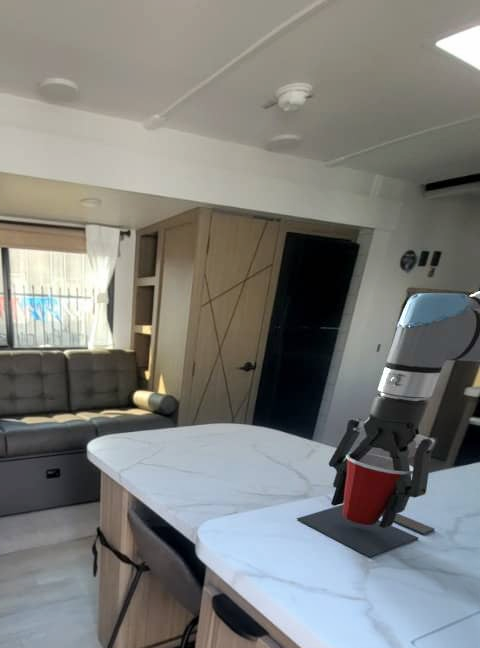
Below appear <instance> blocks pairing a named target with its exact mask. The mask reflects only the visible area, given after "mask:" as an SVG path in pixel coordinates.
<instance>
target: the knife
mask: <svg viewBox="0 0 480 648" xmlns="http://www.w3.org/2000/svg"><path fill="white" fill-rule="evenodd" d="M384 512H385V510H384ZM384 512H383V514H382V515H381V516H383V515H384ZM393 524H397V525H399V526H401V527H404V528H406V529H409V530H410V531H413V532H415V533H417V534H419V535H422V536H423V535H426V534H428V533H430V532H433V531H435V528H434V527H433V526H429V525H426V524H424V523H422V522H419V521H417V520H415V519H412V518H409V517H408V516H406V515H403V514H401V513H397V514H396V516H395V519H394V521H393Z"/></svg>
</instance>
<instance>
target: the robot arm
mask: <svg viewBox="0 0 480 648" xmlns="http://www.w3.org/2000/svg"><path fill="white" fill-rule="evenodd" d="M396 326H397V328H396V331H395V333H394V337H393V340H392V342H391V347H390V350H389V353H388V356H387V359H386V363H385V365H384V368H383V372H382V375H381V377H380V379H379V383H378V387H377V391H378V392H379V393H377V394H376V395H374V398H373V400H372V404H371V407H370V410H369V416H368V418H367V419H366V420H363V419H361V418H354V419H349V420H348V421H347V426H346V432H344V435H343V436H342V439H341V440H340V442H339V444H338V446H337V447H336V448H335V451H334V452H333V454H332V456H331V458H330V460H329V461H328V466H329V467H331V468H333V469H334V470H335V471H336V473H335V476H334V480H333V483H332V485H333V486H332V487H333V488H335V490H334V493H333V497H332V499H331V503H330V505H331V506H333V507H337V506H340V505H343V504H344V492H345V484H346V476H347V458H346V454H348V453H351V454H350V458H352V459H354V460H356V461H359V460H360V459H361V458H363V457H364V456H365V455H366V454H369V452H370V451H371V450H372V449H373V448H375V449H381V450H382V451H385V452H388V453H389V458H391V459H392V461H393V467H394V471H404V472H405V471H410V467H409V465H410V460H409V454H410V449H409V444H411V443H413V442H415V445H414V448H415V449H416V451H415V453H414V459H413V474H410V475H403V474H402V475H401V476H400V478H399V479H398V480H397V481H396V487H397V493H393V494H391V497H390V499H389V502H388V505H387V507H386V510H385V512H384V515H382V518H381V520H380V521H381V523H380V525H379V526H380V527H382V528H385V527H388V526H393V524H394V522H393V521H394V519H395V516H396V514H397V513H398V514H401V513H402V512H404V511H405V509H406V506H407V505H408V502H409V500H410V498H414V499H415V498H418V497H421V496H424V495H426V493H427V490H428V489H427V488H428V480H429V473H430V466H431V459H432V458H431V457H432V452H433V450H434V449H435V447H436V445H437V444H438V438H436V437H428V436H426V435H422V434H420V430H419V429H420V426H421V423H422V421H423V419H424V416H425V413H426V411H427V409H428V405H429V401H428V400H427V399H428V398H430V397H432V396H433V394H434V391H435V388H436V385H437V382H438V380H439V377H440V375H441V372H442V369H443V367H444V365H445V362H446V361H462V362H480V290H478V291H477V292H475V293H472V294H470V295H468V294H465V293H455V292H453V293H452V292H451V293H450V292H449V293H448V292H424V293H423V292H420V293H415V294H413V295H412V296H410V297H409V299H408V300H407V301H406V304H405V306H404V308H403V310H402V313H401V315H400V318H399V320H398V323H396ZM363 430H364V432H365V434H366V437H365V438H364V439H362V440H361V442H359V444H358V446H357V447H356V448H355V449H354V450H353V451H352V452H350V451H351V449H352V447H353V446H354V444H355V443H356V441H357V439H358V437H359V436H360V433H361V432H362V431H363Z"/></svg>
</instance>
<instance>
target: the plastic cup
mask: <svg viewBox="0 0 480 648" xmlns="http://www.w3.org/2000/svg"><path fill="white" fill-rule="evenodd" d="M351 453H352V452H349V453H348V454H346V458H347V476H346V484H345V492H344V502H343V503H342V505H343V516H344V517H345V518H346V519H348V520H350V521H352V522H355V523H358V524H363V525H373V524H376V522H377V521H378V520H380V519H381V516H383V515H382V514H383V512H384V510H386V507H387V505H388V502H389V499H390V497H391V494H393V493H397V487H396V481H397V480H398V479H399V478H400V476H401V475H402V474H403V475H410V474H411V475H412V474H413V466H414V465H413V466H412V465H410V464H409V467H410V471H405V472H404V471H394V467H393V461H392V458H391V457H387V456H383V455H378V454H373V453H367V454H366V455H365V456H364V457H363V458H361V459H360V460H359V461H356V460H354V459H352V458H350V454H351ZM346 458H345V459H346Z"/></svg>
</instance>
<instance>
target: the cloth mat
mask: <svg viewBox="0 0 480 648" xmlns="http://www.w3.org/2000/svg"><path fill="white" fill-rule="evenodd" d="M296 519H298V520H299V521H298V520H297V521H298V522H300V521H301V522H300V523H302V522H303V523H302V524H304V523H305V524H304V525H306V524H307V525H306V526H308V527H310V528H312V529H314V530H316V531H317V532H319V533H321V534H323V535H325V536H326V537H329V538H331V539H333V540H334V541H336V542H339V543H340V544H342V545H344V546H347V547H348V548H350V549H352V550H353V551H355V552H357V553H360V554H361V555H363V556H365V557H367V558H369V559H371V558H374V557H377V556H380V555H382V554H385V553H387V552H389V551H391V550H394V549H396V548H399V547H401V546H403V545H404V546H405V545H406V544H409V543H411V542H413V541H414V542H415V541H416V540H419V536H416V535H414V534H411V533H409V532H407V531H405V530H402V529H400V528H398V527H395V526H394V525H391V526H388V527H385V528H382V527H380V526H379V525H380V523H381V520H380V519H379V520H378V521H377V522H376V524H373V525H363V524H358V523H355V522H352V521H350V520H348V519H346V518H345V517H344V516H343V504H339V505H336V506H333V507H330V508H327V509H323V510H320V511H317V512H313V513H310V514H307V515H303V516H300V517H297V518H296ZM393 548H394V549H393ZM388 550H389V551H388Z"/></svg>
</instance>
